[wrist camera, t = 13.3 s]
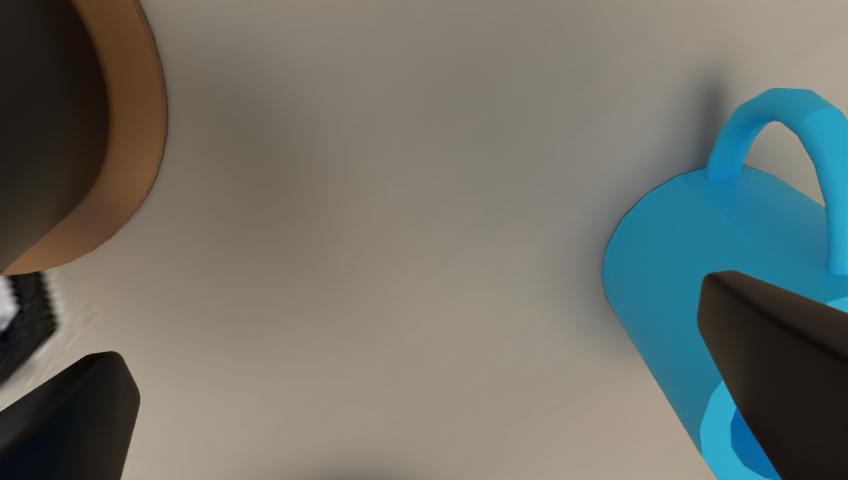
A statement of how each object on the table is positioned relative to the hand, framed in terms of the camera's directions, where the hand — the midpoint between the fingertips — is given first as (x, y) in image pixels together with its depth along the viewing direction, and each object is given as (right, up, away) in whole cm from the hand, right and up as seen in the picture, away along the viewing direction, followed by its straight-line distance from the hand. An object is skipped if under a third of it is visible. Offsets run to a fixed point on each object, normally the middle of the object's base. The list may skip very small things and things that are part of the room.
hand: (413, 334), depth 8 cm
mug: (+11, +2, +13) cm, 18 cm away
